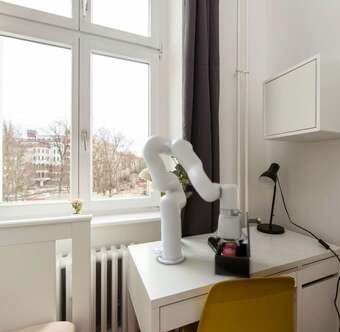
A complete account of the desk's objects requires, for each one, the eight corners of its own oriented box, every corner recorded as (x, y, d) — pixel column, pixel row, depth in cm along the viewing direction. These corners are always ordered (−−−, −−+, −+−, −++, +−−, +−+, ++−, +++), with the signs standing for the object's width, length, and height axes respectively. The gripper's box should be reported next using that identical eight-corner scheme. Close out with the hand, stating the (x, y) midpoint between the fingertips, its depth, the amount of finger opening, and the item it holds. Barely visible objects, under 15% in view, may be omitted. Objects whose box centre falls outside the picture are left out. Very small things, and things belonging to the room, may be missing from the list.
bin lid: (246, 220, 86) (261, 220, 84) (246, 211, 103) (258, 211, 101) (248, 257, 85) (263, 258, 84) (247, 242, 102) (260, 243, 101)
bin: (215, 274, 88) (214, 255, 89) (219, 257, 106) (219, 241, 106) (249, 278, 85) (249, 258, 85) (248, 260, 102) (248, 243, 102)
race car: (234, 261, 88) (234, 251, 88) (221, 259, 90) (221, 250, 90) (237, 249, 101) (237, 241, 101) (225, 248, 103) (225, 239, 103)
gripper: (249, 211, 97) (249, 252, 97) (211, 209, 102) (211, 248, 102) (250, 215, 90) (250, 259, 90) (209, 212, 94) (208, 254, 94)
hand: (229, 253), depth 96 cm, fingers closed on race car, 5 cm apart
